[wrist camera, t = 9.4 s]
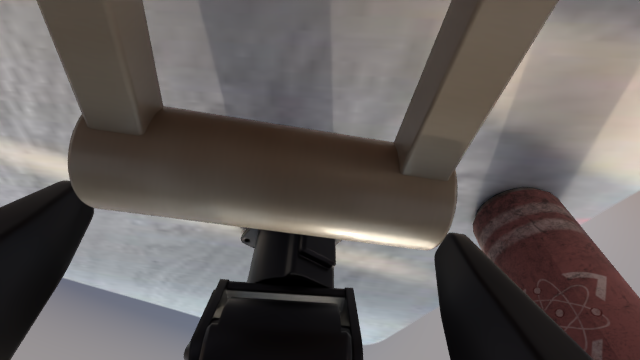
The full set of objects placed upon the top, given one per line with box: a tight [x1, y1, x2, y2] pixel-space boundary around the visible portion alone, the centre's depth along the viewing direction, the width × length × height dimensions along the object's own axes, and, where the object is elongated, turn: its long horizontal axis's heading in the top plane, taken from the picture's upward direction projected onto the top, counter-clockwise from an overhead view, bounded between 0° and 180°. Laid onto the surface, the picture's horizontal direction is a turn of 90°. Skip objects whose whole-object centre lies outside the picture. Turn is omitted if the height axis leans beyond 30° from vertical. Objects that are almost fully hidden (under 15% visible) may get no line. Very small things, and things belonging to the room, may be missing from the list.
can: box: [473, 188, 640, 360], centre depth 19 cm, size 6×6×14 cm
